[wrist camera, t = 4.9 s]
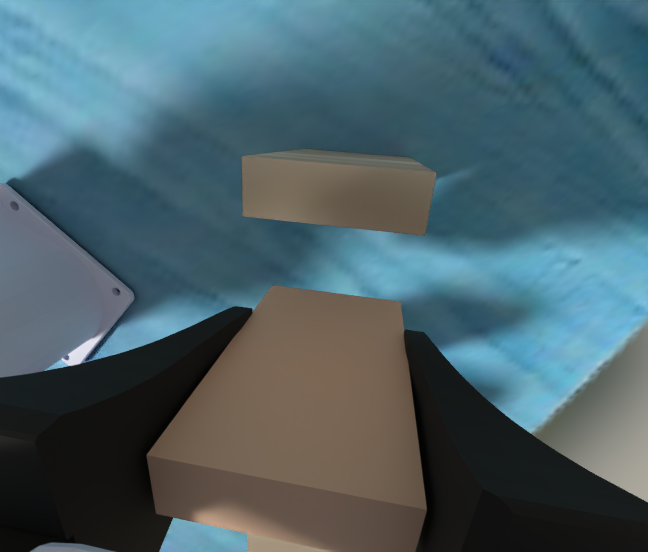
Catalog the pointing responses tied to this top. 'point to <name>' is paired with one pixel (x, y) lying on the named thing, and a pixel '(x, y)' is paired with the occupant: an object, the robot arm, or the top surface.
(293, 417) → the domino
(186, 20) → the top surface
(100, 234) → the top surface
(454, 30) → the top surface
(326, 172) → the domino
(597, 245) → the top surface
